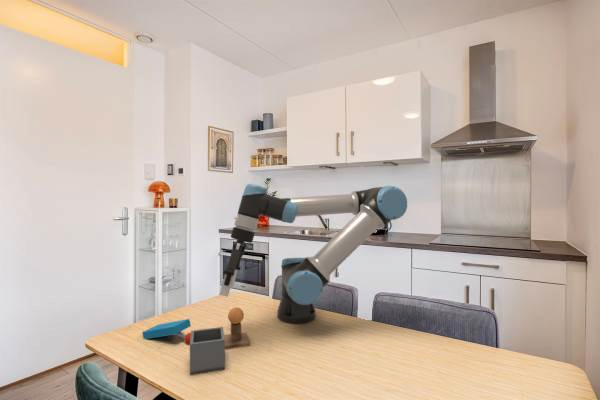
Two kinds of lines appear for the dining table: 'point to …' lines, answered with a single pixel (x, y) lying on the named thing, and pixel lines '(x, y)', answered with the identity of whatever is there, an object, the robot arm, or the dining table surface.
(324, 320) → the dining table surface
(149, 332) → the lever
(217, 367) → the square storage bin
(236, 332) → the tee
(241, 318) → the ball
